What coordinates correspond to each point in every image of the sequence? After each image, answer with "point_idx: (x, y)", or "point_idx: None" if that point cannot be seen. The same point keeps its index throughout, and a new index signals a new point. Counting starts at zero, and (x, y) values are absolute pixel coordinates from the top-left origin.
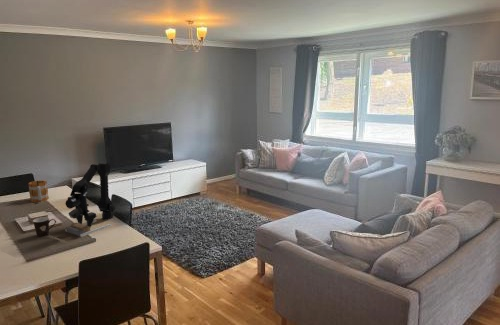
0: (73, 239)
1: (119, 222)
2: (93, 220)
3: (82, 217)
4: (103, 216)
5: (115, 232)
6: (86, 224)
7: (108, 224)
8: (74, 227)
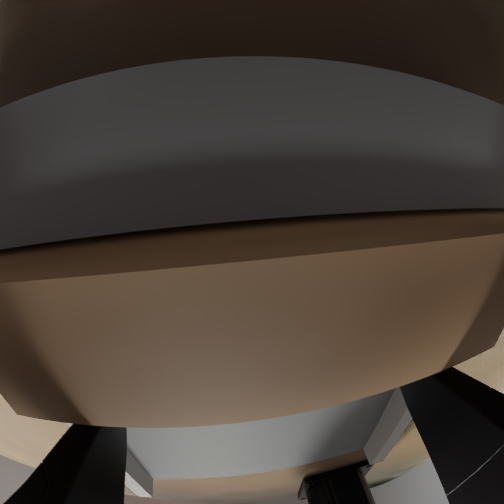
0: (65, 12)
1: (208, 499)
2: (382, 453)
3: (446, 488)
4: (348, 497)
5: (7, 423)
6: (398, 396)
7: (139, 490)
8: (411, 216)
